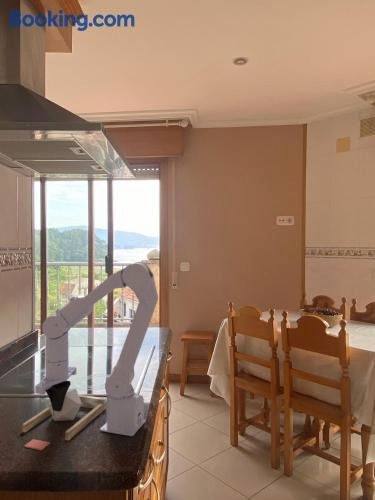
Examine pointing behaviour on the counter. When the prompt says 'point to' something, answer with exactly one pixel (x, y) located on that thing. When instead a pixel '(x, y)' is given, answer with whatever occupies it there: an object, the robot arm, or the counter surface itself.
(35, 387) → the robot arm
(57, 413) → the die
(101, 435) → the counter surface
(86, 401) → the channel
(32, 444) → the mat
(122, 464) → the counter surface
